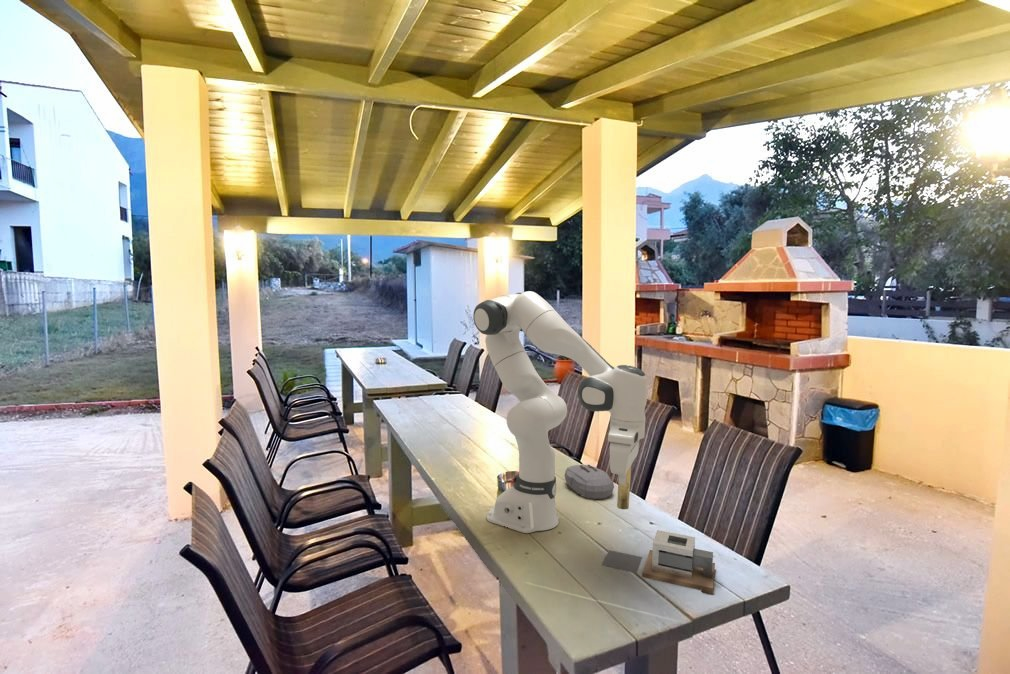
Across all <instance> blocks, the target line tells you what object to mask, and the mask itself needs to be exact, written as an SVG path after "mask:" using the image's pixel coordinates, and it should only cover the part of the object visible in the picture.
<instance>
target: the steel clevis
mask: <svg viewBox="0 0 1010 674" xmlns="http://www.w3.org/2000/svg"><path fill="white" fill-rule="evenodd" d="M695 544H696V537H695V536H691V535H686V534H680V533H674V532H670V531H665V530H664V531H663V530H659V529H657V530H656V531H655V534H654V539H653V542H652V550H653V551H652V570H656V571H660V572H665V573H670V574H674V575H679V576H683V577H688V578H692V572H693V566H694V567H699V568H703V576H704V577H709V578H712V565H713V563H714V560H713V559H714V552H713V551H710V550H703V549H698V548H696V545H695Z"/></svg>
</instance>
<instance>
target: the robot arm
mask: <svg viewBox="0 0 1010 674" xmlns="http://www.w3.org/2000/svg"><path fill="white" fill-rule="evenodd" d="M472 317H473V323H474V326H475V328H476V329H477V331H478V332H480V333H481V334H483V335H486V336H485V339H484V340H485V341H484V342H485V345H486V349H487V353H488V356H489V358H490V360H491V363H492V365H493V367H494V369H495V371H496V373H497V376H498V377H499V380H500V381H501V383H502V385H503V388H504V389H505V390H506V391H507V392H509V393H511V394H512V395H513V396H514V397H516V399H518V401H519V402H518V403H516V404H515V405H514V406H513V407H511V408H510V410H509V411H508V413H507V414H506V425H507V428H508V430H509V432H510V433H511V434H512V436H514V437H515V440H516V443H517V448H518V472H517V473H516V474H515V475H514V476H513V478H512V479H511V484H512V486H510V487H509V488H507V489H506V490H504V491H503V492H502V493H500V494H499V495H498V497H497V498H496V499H495V502H494V506H493V507H492V508H491V509H490V510H489V511H488V512H487V515H486V521H487V522H489V523H493V524H496V525H498V526H502V527H504V526H505V528H507V527H508V529H511V530H515V531H516V532H520V533H524V534H529V533H534V532H539V531H540V532H541V531H547V530H551V529H554V528H556V527H557V526H558V525H559V522H560V520H559V516H558V512H557V507H556V494H557V477H556V476H555V475H556V473H555V472H556V452H555V450H554V449H553V447H552V446H551V443H550V439H549V431H550V430H552V429H555V428H556V427H558V426H560V424H562V422H563V421H564V420H565V419H566V417H567V415H568V407H567V404H566V402H565V399H563V398H562V397H561V396H559V395H558V394H556V393H555V392H554V391H553V390H552V389H551V388H550V387H549V386H548V385H547V384H546V382H544V380H543V379H542V378H541V376H540V375H539V374H538V372H537V371H536V368H535V366H534V365H533V362H532V361H531V359H530V357H529V355H528V354H527V351H526V349H525V347H524V346H523V344H522V342H521V340H520V332H523V333H524V335H525V336H526V337H527V338H528V339H529V341H530V342H531V343H532V344H533V345H534V346H535V347H537V348H538V349H539V350H540V351H542V352H544V353H546V354H547V353H548V354H553V355H558V356H563V357H566V358H569V359H570V360H572V361H574V362H576V363H577V364H578V365H579V366H580V368H582V370H584V371H585V372H586V374H587V375H589V376H588V377H584V378H583V379H582V380H581V381H580V383H578V386H577V387H578V388H577V397H578V400H579V401H578V402H579V403H580V405H581V406H582V407H583V408H584V409H586V410H587V411H589V412H608V413H610V420H609V421H610V422H609V423H610V424H609V431H608V435H607V441H608V442H609V443H610V444H609V470H610V472H611V473H612V474H614V475H618V480H619V484H625V483H626V481H627V476H626V474H627V471H628V469H629V467H630V466H631V467H632V464H633V462H634V461H635V460H636V458H637V456H638V454H639V450H640V449H639V448H640V440H642V439H644V438H645V435H646V434H645V433H646V420H647V419H646V413H645V412H646V411H645V410H646V409H645V408H646V406H647V403H648V402H647V401H648V382H647V376H646V373H645V372H644V370H642V369H640V368H638V367H636V366H633V365H628V364H619V365H617V366H615V367H614V366H613V365H611V364H610V363H609V362H608V361H607V360H606V359H605V358H604V357H603V356H602V355H600V353H599V352H597V351H596V349H595V348H594V347H593V346H592V345H591V344H590V343H588V341H586V340H585V339H584V338H583V337H582V336H581V335H580V334H579V333H578V332H577V331H575V330H574V329H573V328H572V327H571V326H570V325H569V324H568V323H567V322H566V321H565V319H564V318H563V317H562V316H561V315H560V314H559V313H558V312H557V311H556V309H554V307H553V306H552V305H551V304H550V303H549V302H548V301H547V300H545V299H544V298H543V297H542V296H541V295H539V294H538V293H537V292H535V291H530V290H528V291H527V290H526V291H524V292H517V293H510V294H504V295H500V296H497V297H494V298H492V299H486V300H483V301H482V302H480V303H478V304H477V305H476V306H475V308H474V310H473V316H472Z"/></svg>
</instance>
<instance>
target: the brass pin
mask: <svg viewBox="0 0 1010 674" xmlns="http://www.w3.org/2000/svg"><path fill="white" fill-rule="evenodd" d="M631 473H632V465H631V466H630V467H629V469H628V471H627V474H626V476H627V481H626V483H625V484H619V479H618V482H617V497H616V508H617V509H620V510H629V509H630V506H629V505H630V491H631V477H632V476H631Z"/></svg>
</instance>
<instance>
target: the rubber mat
mask: <svg viewBox="0 0 1010 674" xmlns="http://www.w3.org/2000/svg"><path fill="white" fill-rule="evenodd" d="M642 559H643V556H639V555H635V554H629V553H625V552H620V551H615V550H611V549H608V551H607V553H606V555H605V557H604V559H603V561H602V563H601V566H603V567H607V568H611V569H615V570H621V571H626V572H629V573H633V574H637V573H638V571H639V567H640V565H641V562H642Z"/></svg>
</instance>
